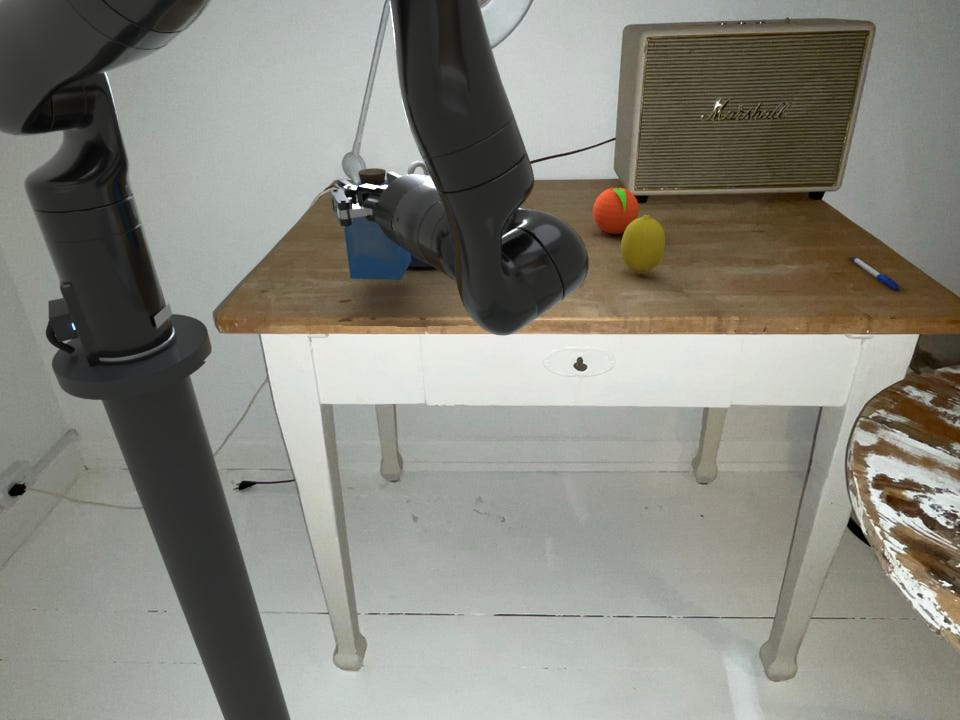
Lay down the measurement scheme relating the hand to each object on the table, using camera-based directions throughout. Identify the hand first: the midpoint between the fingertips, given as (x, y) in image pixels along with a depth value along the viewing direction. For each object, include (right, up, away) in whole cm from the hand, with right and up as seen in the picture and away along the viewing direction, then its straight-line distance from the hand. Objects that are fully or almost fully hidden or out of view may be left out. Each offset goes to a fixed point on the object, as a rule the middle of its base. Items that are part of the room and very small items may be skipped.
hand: (365, 184), depth 75 cm
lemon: (+35, -10, +9) cm, 37 cm away
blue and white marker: (+65, -10, +7) cm, 66 cm away
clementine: (+34, -2, +23) cm, 41 cm away
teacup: (+7, +8, +40) cm, 41 cm away
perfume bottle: (+1, -10, +3) cm, 11 cm away
